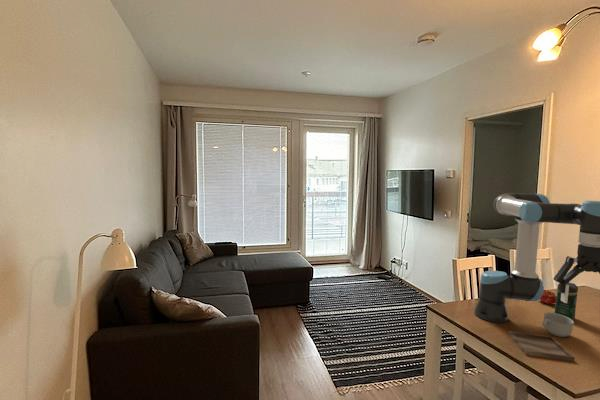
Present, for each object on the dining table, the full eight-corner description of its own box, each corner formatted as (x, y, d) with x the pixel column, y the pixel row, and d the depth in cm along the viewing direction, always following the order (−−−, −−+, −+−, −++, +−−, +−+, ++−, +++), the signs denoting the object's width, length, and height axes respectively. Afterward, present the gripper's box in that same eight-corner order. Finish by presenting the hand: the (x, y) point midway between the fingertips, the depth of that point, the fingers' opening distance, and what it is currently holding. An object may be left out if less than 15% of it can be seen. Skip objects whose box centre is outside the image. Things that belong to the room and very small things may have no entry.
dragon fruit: (533, 301, 191) (557, 311, 182) (531, 296, 186) (556, 306, 177) (538, 289, 193) (563, 298, 184) (537, 284, 187) (562, 293, 178)
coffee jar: (571, 323, 160) (575, 287, 158) (552, 317, 166) (555, 282, 165) (576, 318, 166) (580, 283, 164) (557, 312, 172) (561, 279, 170)
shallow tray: (508, 334, 146) (508, 330, 146) (551, 340, 142) (551, 336, 142) (525, 354, 129) (525, 350, 129) (574, 361, 125) (574, 357, 125)
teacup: (558, 328, 154) (560, 312, 153) (578, 340, 143) (580, 322, 142) (530, 328, 153) (532, 312, 153) (548, 339, 142) (550, 322, 142)
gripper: (556, 244, 110) (551, 303, 111) (645, 250, 104) (637, 313, 106) (545, 240, 117) (540, 296, 119) (627, 245, 111) (621, 304, 113)
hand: (586, 304), depth 112 cm, fingers open, 13 cm apart
